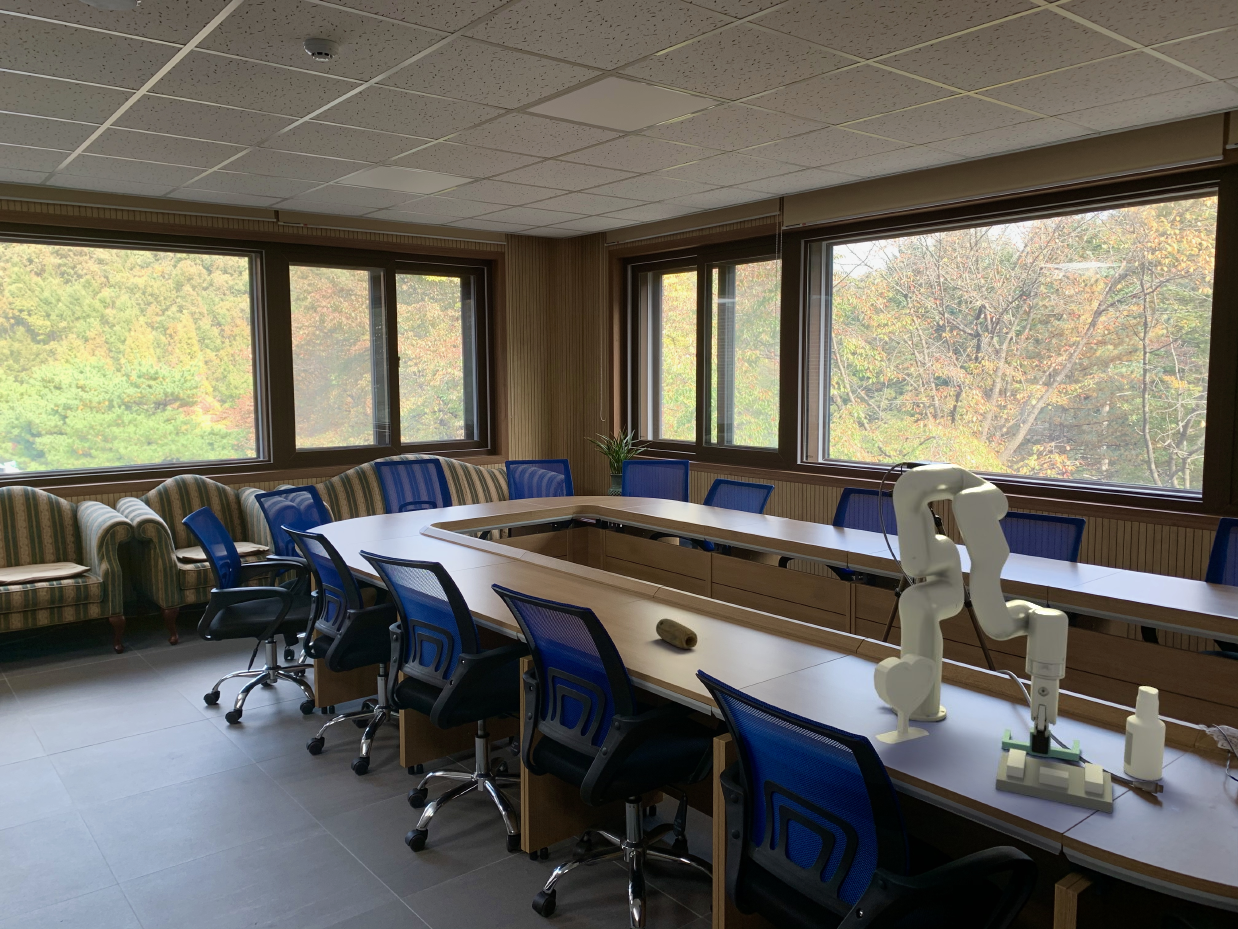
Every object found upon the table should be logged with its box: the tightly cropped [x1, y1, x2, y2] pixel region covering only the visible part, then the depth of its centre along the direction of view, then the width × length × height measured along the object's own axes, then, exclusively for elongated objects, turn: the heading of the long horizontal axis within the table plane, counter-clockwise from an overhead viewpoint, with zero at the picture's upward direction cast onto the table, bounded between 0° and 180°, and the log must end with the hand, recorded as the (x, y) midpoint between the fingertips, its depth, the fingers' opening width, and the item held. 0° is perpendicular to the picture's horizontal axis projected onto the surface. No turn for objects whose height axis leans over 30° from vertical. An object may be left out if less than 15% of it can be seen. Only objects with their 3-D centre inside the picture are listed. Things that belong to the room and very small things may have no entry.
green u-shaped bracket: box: [1001, 726, 1080, 762], centre depth 192 cm, size 15×10×5 cm, turn 62°
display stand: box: [995, 748, 1113, 814], centre depth 175 cm, size 20×14×4 cm
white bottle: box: [1122, 685, 1167, 782], centre depth 180 cm, size 7×7×18 cm
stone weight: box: [655, 618, 698, 650], centre depth 264 cm, size 15×7×7 cm, turn 35°
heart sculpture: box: [873, 654, 936, 745], centre depth 198 cm, size 16×5×18 cm, turn 118°
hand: (1040, 749), depth 189 cm, fingers closed on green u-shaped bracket, 2 cm apart
